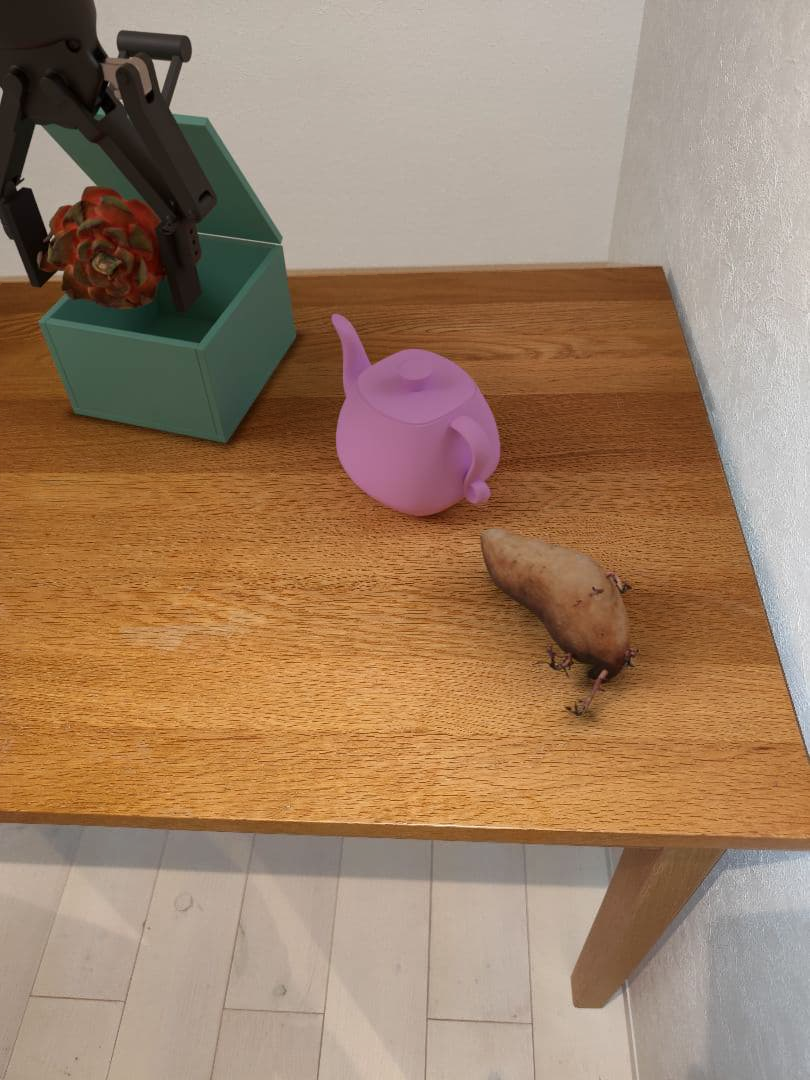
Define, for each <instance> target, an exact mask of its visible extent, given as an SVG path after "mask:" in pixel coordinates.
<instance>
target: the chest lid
mask: <svg viewBox="0 0 810 1080" xmlns="http://www.w3.org/2000/svg"><path fill="white" fill-rule="evenodd" d="M192 45H193V44H192V42H191V39H190V37H189V36H188V35H186V34H185V35H184V34H175V33H163V32H152V31H151V32H150V31H140V30H139V31H138V30H128V29H127V30H126V29H121V30H119V31H118V32H117V35H116V48H117V51H118V55H117V57H116V58H122V59H131V58H133V57H134V56H135V55H137V54H138V53H140V52H143V53H146V54H147V55H149V56H150V58H151V59H152V61H153V60H154V61H163V62H170V63H169V66H168V69H167V72H166V76H165V79H164V82H163V86H162V89H161V91H160V92H161V94H162V96H163V98H164V100H165V101H166V103H167V105H168V107H169V108H170V107H171V103H172V100H173V96H174V94H175V90H176V86H177V83H178V80H179V77H180V73H181V70H182V68H183V64H184V63H186V64H187V63H189V62H190V61H191V59H192V56H193V46H192ZM108 87H109V88H110V89H111V90H112V92H113V93H114V90H115V88H114V86H113V85H112V84H111V83H110V82H109V84H108ZM172 114H173V116H174V118H175V120H176V122H177V124H178V125H179V127H180V129H181V131H182V133H183V135H184V137H185V138H186V140H187V142H188V144H189V146H190V148H191V150H192V151H193V153H194V155H195V157H196V159H197V161H198V162H199V164H200V166H201V168H202V170H203V172H204V174H205V175H206V177H207V179H208V181H209V183H210V185H211V187H212V188H213V190H214V192H215V194H216V196H217V199H218V202H217V204H216V205H215V206H214V208H213V209H212V210H211V211H210V212H209V213H208V214H207V215H206V216H205V217H204V218H203V219H202V221H201V222H199V223H198V224H196V228H197V233H198V234H205V235H212V236H219V237H227V238H234V239H241V240H248V241H255V242H262V243H269V244H275V245H281V244H282V243H283V238H284V236H283V235H282V233H281V232H280V231H279V229H278V227H277V225H276V224H275V223H274V221H273V219H272V218H271V216H270V215H269V213H268V211H267V209H266V208H265V207H264V205H263V203H262V202H261V200H260V199H259V197H258V195H257V193H256V192H255V190H254V189H253V188H252V186H251V184H250V182H249V181H248V179H247V177H246V176H245V174H244V173H243V172H242V170H241V168H240V167H239V165H238V164H237V162H236V160H235V159H234V157H233V156H232V154H231V153H230V151H229V149H228V148H227V146H226V145H225V143H224V141H223V140H222V138H221V136H220V135H219V134H218V132H217V130H216V128H215V127H214V125H213V124H212V122H211V121H210V119H209V117H206V116H198V115H188V114H180V113H172ZM104 117H105V113H104V111H103V110H102V109H101V107H100V109H99V111H98V113H97V114H96V116H95V117H94V118H95V119H96V120H98V121H99V120H101V119H102V118H104ZM127 117H128V120H129V121H130V122H131V120H130V118H129V116H128V114H127ZM131 123H132V122H131ZM132 125H133V124H132ZM40 126H41V127H42V128H43V130H45V131H46V133H47V134H48V135H49V136H50V137H51V138H52V139H53V140H54V141H55V142H56V143H57V145H58V146H59V147H60V148H61V149H62V150H63V151H64V152H65V153H66V154H67V155H68V156H69V158H71V160H72V161H73V162H74V163H75V164H76V166H78V167H79V169H81V171H82V172H83V173H84V174H85V175H86V176H87V177H88V178H89V179H90V180H91V181H92V182H93V184H95V186H98V187H99V186H102V187H108V188H111V189H113V190H115V191H117V192H118V193H119V194H120V195H121V197H122V198H123V199H125V200H127V201H130V200H132V199H140V200H141V201H143V202H144V203H146V204H147V202H146V201H145V200H144V199H143V198H142V196H141V195H140V194H139V193H138V192H137V190H136V189H135V188H134V187H133V186H132V184H131V183H130V182H129V181H128V180H127V178H126V177H125V176H124V175H123V174H122V172H121V171H120V170H119V169H118V168H117V166H116V165H115V164H114V163H113V162H112V161H111V159H110V158H109V157H108V156H107V155H106V153H105V152H104V151H103V150H102V149H101V147H100V146H99V145H98V144H96V143H91V142H89V141H88V140H87V139H86V138H85V137H84V136H83V134H82V133H81V132H80V131H79V130H78V129H76V130H75V129H67V128H64V127H61V126H59V125H56V124H50V125H45V126H44V125H40ZM133 126H134V125H133ZM171 204H172V205H173V203H172V201H171ZM147 205H148V204H147ZM148 206H149V205H148ZM149 207H150V206H149ZM150 208H151V207H150ZM157 216H158V215H157ZM158 219H159V222H160V223H161V222H162V220H161V219H160V218H159V217H158Z"/></svg>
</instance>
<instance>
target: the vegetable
mask: <svg viewBox="0 0 810 1080" xmlns="http://www.w3.org/2000/svg"><path fill="white" fill-rule="evenodd" d="M479 539H480V548H481V553H482V558H483V561H484V565H485V567H486V570H487V573H488V575H489V578H491V581H492V582H493V584H494V585H495V586H496V587H497V588H498V589H499V590H501V591H502V592H503V593H504V594H505V595H506V596H508V597H509V598H511V599H512V600H513V601H515V602H516V603H517V604H520V605H521V606H523V607H524V608H526V609H527V610H529V611H530V612H531V613H532V614H533V615H535V616H536V617H537V618H538V619H539V620H540V622H541V623H542V625H543V626H544V627H545V629H546V631H547V632H548V634H549V635H550V637H551V638H552V640H553V642H554V643H555V644H556V646H558V647H559V649H560V650H561V651H562V652H563V653H565V655H559V654H557V651H553V644H551V645H550V649H549V648H547V647H545V651H546V654H548V657H549V658H550V662H548V661H544V660H542V661H538V662H535V663H532V664H531V666H536V665H540V664H544V663H545V664H547V665H548V666H549V667H550V668H551V669H552V670H553V671H557V672H558V671H559V672H560V671H562V670H563V671H564V672H565V676H566V677H567V678H568V679H570V675H569V674H568V672H569V671H570V670H571V669H572V666H573V665H575V662H574V661H576V662H578V663H581V664H585V665H590V666H593V667H592V668H590V669H589V670H588V671H587V672H586V677H587V678H588V681H589V682H590V683H593V686H592V688H591V690H590V692H589V694H588V696H586V698H585V699H584V700H583V699H578V700H577V701H578V703H583V705H582V706H581V708H580V710H579V707H578V703H577V702H575V703H574V710H573V707H571V706H564V708H565V709H566V710H567V711H569V712H570V713H572V714H573V715H575V716H576V717H581V716H582V715H583V714H584V713H585V712H586V711H587V710H588V709H589V707H590V705H591V703H592V701H593V699H594V697H595V696H596V693H597V691H601V692H603V693H605V692H606V690H605V689H603V688H602V687H601V684H603V685H604V684H606V683H608V682H610V681H611V680H612V679H614V678H615V677H617V676H618V675H619V674H620V673H621V672H622V670H623V669H624V668H628V667H630V668H635V667H636V665H634V658H635V657H636V655H637V654H639V653H640V646H638V647H637V648H635V649H634V648H632V647H631V627H630V626H631V624H630V619H629V615H628V611H627V609H626V606H625V603H624V601H623V597H622V595H624V594H627V593H632V592H634V589H633V588H632V586H631V585H630V584H628V583H627V582H628V579H627V580H625V581H624V584H623V585H622V581H621V579H620V577H619V576H618V574H617V573H615V572H614V571H613V570H612V571H607V570H606V569H605V568H604V567H603V566H602V565H601V564H600V563H599V562H598V561H597V560H595V559H593V558H592V557H591V556H589V555H588V554H586V553H584V552H581V551H579V550H576V549H574V548H570V547H566V546H561V545H559V544H555V543H551V542H549V541H545V540H540V539H537V538H531V537H527V536H524V535H521V534H516V533H514V532H511V531H509V530H507V529H504V528H499V527H497V528H495V527H494V528H488V529H486V530H483V531H482V532H481V533H480V536H479ZM556 657H557V658H561V659H563V658H565V659H564V660H563V661H562V662H557V661H555V660H556ZM566 668H568V671H567V669H566Z"/></svg>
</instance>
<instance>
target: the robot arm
mask: <svg viewBox="0 0 810 1080" xmlns="http://www.w3.org/2000/svg"><path fill="white" fill-rule="evenodd" d="M97 15H98V13H97V7H96V4H95V0H0V89H1V90H2V94H1V99H0V223H1V224H0V225H2V229H3V231H4V233H5V235H6V236H7V238H8V239H9V240H11V241H13V242H14V244H15V247H16V249H17V252H18V255H19V257H20V260H21V262H22V264H23V265H22V266H23V268H24V270H25V273H26V275H27V278H28V280H29V283H30V286H31V287H34V288H39V289H40V288H42V287H43V286H44V285H45V284H46V283H47V282H48V281H49V280H50V279H51V278H52V277H54V275H56V274H57V272H58V271H54V272H46V271H44V270H42V269H39V266H38V262H37V258H38V253H39V252H40V251H42V253H43V255H45V254H46V253H47V252H48V250H49V243H50V242H51V239H50V240H49V241H48V242H46V243H44V241H43V240H44V238H45V237H46V236H47V235H48V234H49V233H48V231H47V228H46V225H45V222H44V220H43V217H42V213H41V211H40V208H39V205H38V203H37V200H36V197H35V194H34V191H33V189H32V188H31V187H26V186H22V187H20V188H19V189H17V187H18V186H19V185H20V184H21V183H22V182H23V183H24V181H25V179H26V178H25V177H23V178H22V175H23V171H24V167H25V163H26V160H27V157H28V153H29V150H30V146H31V143H32V139H33V135H34V132H35V129H36V126H37V125H38V126H41V125H44V126H45V125H50V124H56V125H59V126H61V127H64V128H67V129H75V130H76V129H78V130H79V131H80V132H81V133H82V134H83V136H84V137H85V138H86V139H87V140H88V141H89V142H91V143H96V144H98V145H99V146H100V147H101V149H102V150H103V151H104V152H105V153H106V155H107V156H108V157H109V158H110V159H111V161H112V162H113V163H114V164H115V165H116V166H117V168H118V169H119V170H120V171H121V172H122V174H123V175H124V176H125V177H126V178H127V180H128V181H129V182H130V183H131V184H132V186H133V187H134V188H135V189H136V190H137V192H138V193H139V194H140V195H141V196H142V198H143V199H144V200H145V201H146V202H147V204H148V205H149V206H150V207H151V208H152V209H153V211H154V212H155V213H156V214H157V215H158V217H159V218H160V219H161V220H162V222H161V223H160V224H159V225H158V226H157V227H156V228H155V233H156V237H157V240H158V244H159V248H160V252H161V256H162V260H163V264H164V268H165V271H166V275H167V279H168V283H169V287H170V291H171V295H172V298H173V302H174V306H175V310H176V312H180V313H186V312H187V311H188V309H189V308H190V307H191V306H192V305H193V303H194V302H195V301H196V300H197V299H198V297H199V296H200V295H201V294H202V290H201V286H200V281H199V277H198V273H197V268H196V263H197V262H198V261H199V260H200V259H201V254H202V251H201V246H200V242H199V237H198V234H199V233H197V228H196V224H198V223H199V222H201V221H202V219H203V218H204V217H205V216H206V215H207V214H208V213H209V212H210V211H211V210H212V209H213V208H214V206H215V205H216V204H217V202H218V199H217V196H216V194H215V192H214V190H213V188H212V187H211V185H210V183H209V181H208V179H207V177H206V175H205V174H204V172H203V170H202V168H201V166H200V164H199V162H198V161H197V159H196V157H195V155H194V153H193V151H192V150H191V148H190V146H189V144H188V142H187V140H186V138H185V137H184V135H183V133H182V131H181V129H180V127H179V125H178V124H177V122H176V120H175V118H174V116H173V114H174V113H172V111H171V109H170V107H168V105H167V103H166V101H165V100H164V98H163V96H162V94H161V92H162V91H161V87H160V85H159V80H158V77H157V76H158V75H157V72H156V67H155V64H154V61H153V60H152V59H151V58H150V56H149V55H147V54H146V53H143V52H140V53H138V54H137V55H135V56H134V57H133V58H130V59H122V58H117V57H109V55H108V53H107V51H106V50H105V49H104V47H103V46H102V44H101V43H100V40H99V37H98V30H97V19H98V18H97V17H98V16H97ZM109 83H111V84H112V85H113V86H114V88H115V90H114V93H113V92H112V90H111V89H110V88H109V87H108V86H109ZM121 101H122V102H121ZM100 107H101V109H102V110H103V111H104V113H105V117H104V118H102V119H101V120H99V121H98V120H96V119H95V118H94V117H95V116H96V114H97V113H98V111H99V109H100ZM127 114H128V116H129V118H130V120H131V122H132V123H131V122H130V121H129V120H128V117H127ZM132 124H133V125H134V126H133V125H132ZM171 201H172V203H173V205H172V204H171Z"/></svg>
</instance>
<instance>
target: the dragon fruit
mask: <svg viewBox="0 0 810 1080" xmlns="http://www.w3.org/2000/svg"><path fill="white" fill-rule="evenodd" d="M48 223H49V224H48V227H49V229H50V230H49V232H48V233H47V234H48V235H47V236H46V237H45V238H44V240H43V241H44V243H46V242H48V241H49V240H50V243H49V250H48V252H47V253H46V254H45V255H43V253H42V251H40V252H39V253H38V258H37V262H38V266H39V269H42V270H44V271H46V272H54V271H57V272H63V274H62V279H61V280H62V282H61V284H60V286H61V287H60V289H61V292H62V293H63V294H66V295H67V297H69V298H70V299H72V300H74V301H75V300H77V299H84V300H89V301H95V302H96V304H98V305H100V306H102V307H105V308H110V307H111V308H116V309H124V308H127V309H130V308H132V309H134V308H137V307H138V306H144V305H146V304H148V303H150V302H151V301H152V300H154V299H155V296H156V293H157V287H158V282H159V281H160V280H161V278H162V283H163V282H164V280H165V278H166V276H167V275H166V271H165V268H164V264H163V260H162V256H161V252H160V248H159V244H158V240H157V237H156V233H155V228H156V227H157V226H158V225H159V224H160V222H159V219H158V216H157V214H156V213H155V212H154V211H153V209H152V208H150V207H149V206H148V205H147V204H146V203H144V202H143V201H141V200H140V199H132V200H130V201H127V200H125V199H123V198H122V197H121V195H120V194H119V193H118V192H117V191H115V190H113V189H111V188H108V187H102V186H99V187H98V186H96V185H90V186H89V185H88V186H85V188H84V189H83V191H82V194H81V197H80V200H79V201H77V202H76V203H74V204H65V205H61V206H59V207H58V209H57V210H56V211H55V213H54V215H53V216H52V217H51V218H50V220H49V221H48Z"/></svg>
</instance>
